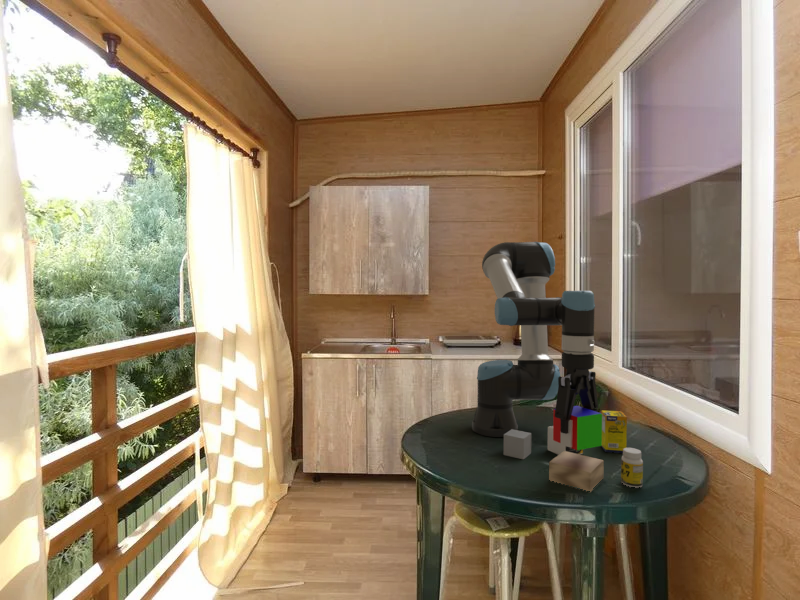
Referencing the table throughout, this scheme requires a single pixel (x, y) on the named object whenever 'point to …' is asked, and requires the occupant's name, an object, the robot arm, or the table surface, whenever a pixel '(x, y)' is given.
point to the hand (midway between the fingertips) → (577, 441)
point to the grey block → (517, 444)
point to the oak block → (576, 470)
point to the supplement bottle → (632, 468)
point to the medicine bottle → (559, 445)
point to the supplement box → (614, 431)
